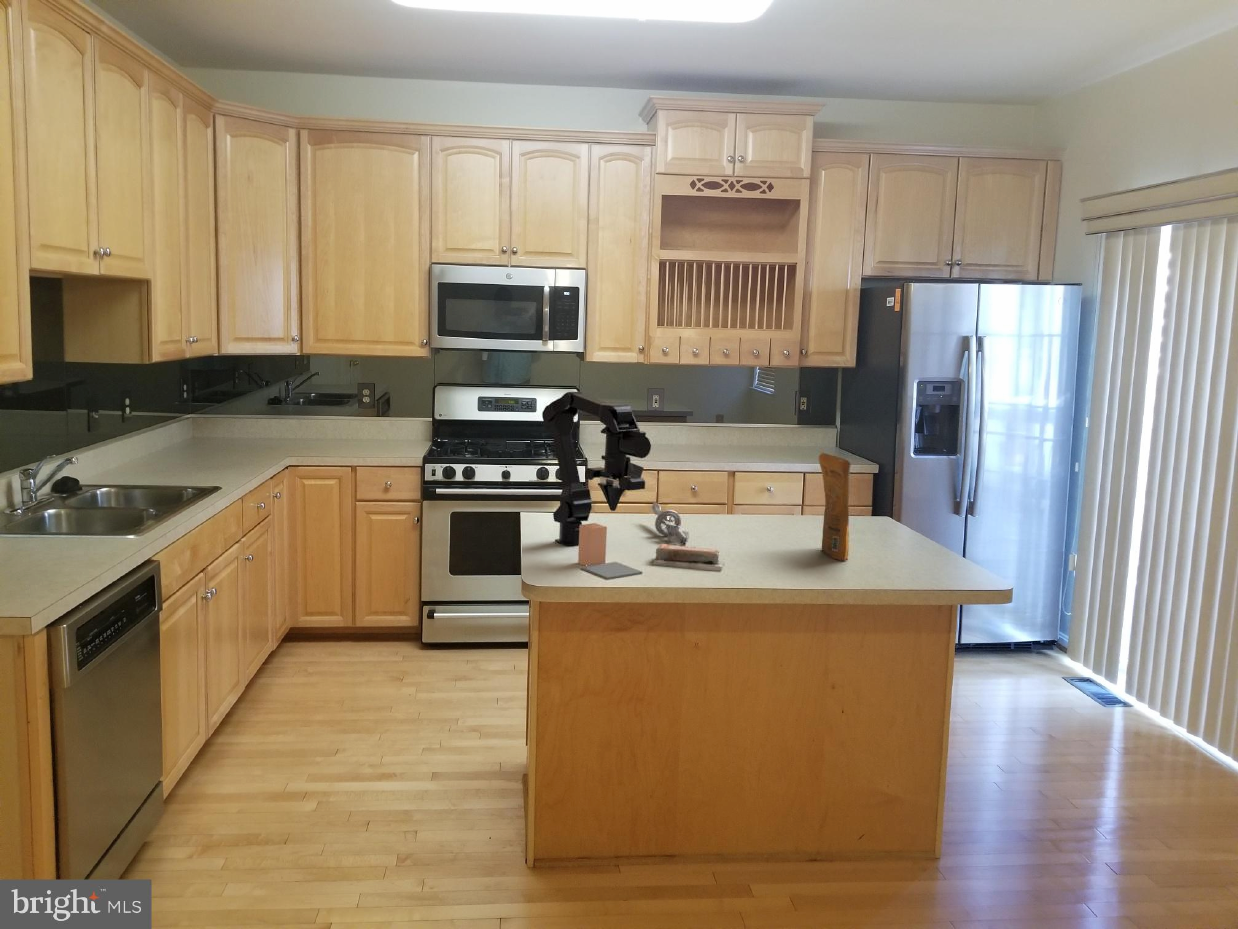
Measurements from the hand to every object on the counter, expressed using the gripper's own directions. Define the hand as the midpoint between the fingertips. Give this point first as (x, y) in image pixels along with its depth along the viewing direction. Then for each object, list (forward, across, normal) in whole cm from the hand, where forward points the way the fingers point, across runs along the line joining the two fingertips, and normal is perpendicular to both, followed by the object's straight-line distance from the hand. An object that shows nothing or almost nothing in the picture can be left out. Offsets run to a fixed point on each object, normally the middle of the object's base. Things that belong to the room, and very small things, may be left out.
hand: (612, 510), depth 264 cm
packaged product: (+13, -16, -13) cm, 25 cm away
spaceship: (+13, +10, -30) cm, 34 cm away
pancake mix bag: (+12, -30, -56) cm, 65 cm away
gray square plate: (+12, -12, +10) cm, 20 cm away
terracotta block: (+12, -4, +9) cm, 16 cm away
